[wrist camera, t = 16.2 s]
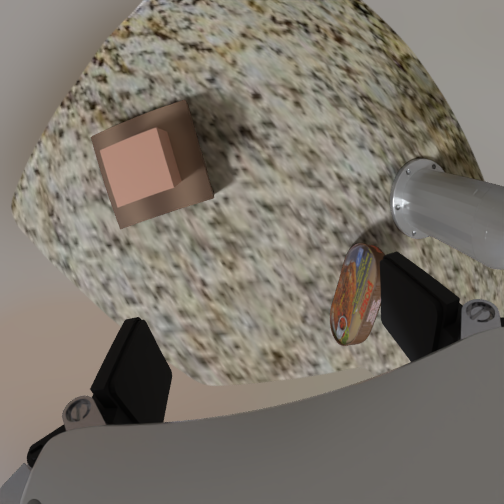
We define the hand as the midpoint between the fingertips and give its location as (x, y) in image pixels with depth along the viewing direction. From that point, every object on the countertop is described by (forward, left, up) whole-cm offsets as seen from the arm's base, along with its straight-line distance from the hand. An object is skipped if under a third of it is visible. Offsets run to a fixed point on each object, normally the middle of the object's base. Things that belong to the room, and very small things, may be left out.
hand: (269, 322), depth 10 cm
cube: (+8, -7, -24) cm, 26 cm away
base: (+8, -7, -27) cm, 29 cm away
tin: (-13, +17, -27) cm, 34 cm away
